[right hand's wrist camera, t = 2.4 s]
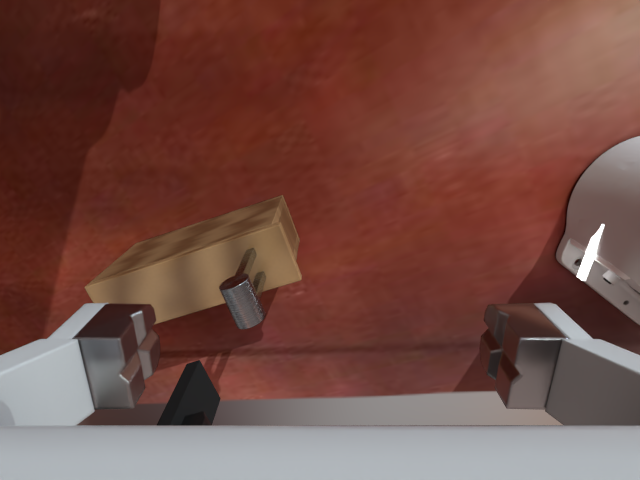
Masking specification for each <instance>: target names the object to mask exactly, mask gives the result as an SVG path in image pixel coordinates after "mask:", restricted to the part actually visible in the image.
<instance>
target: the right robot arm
mask: <svg viewBox="0 0 640 480" xmlns="http://www.w3.org/2000/svg"><path fill="white" fill-rule="evenodd" d="M556 259H557V261H558V262H559V263H560V264H561V265H563V266H564V267H565V268H566V269H568V270H569V271H570V272H571V273H573V274H574V275H575V276H577V277H578V278H579V279H580V280H582V281H583V282H584V283H585V284H587V285H588V286H589V287H591V288H592V289H593V290H594V291H596V292H597V293H598V294H599V295H601V296H602V297H603V298H605V299H606V300H607V301H608V302H610V303H611V304H612V305H613V306H615V307H616V308H617V309H619V310H620V311H621V312H622V313H624V314H625V315H626V316H627V317H629V318H630V319H631V320H633V321H634V322H635V323H637V324H638V325H640V136H638V137H634V138H631V139H628V140H626V141H624V142H622V143H619V144H617V145H616V146H614V147H612V148H611V149H609V150H608V151H606V152H605V153H603V154H602V155H601V156H600V157H598V158H597V159H596V160H595V161H594V162H593V163H592V164H591V165H590V166H589V167H588V168H587V170H586V171H585V172H584V173H583V175H582V176H581V178H580V179H579V181H578V182H577V184H576V186H575V188H574V190H573V192H572V195H571V197H570V201H569V204H568V209H567V221H566V231H565V234H564V236H563V238H562V240H561V242H560V244H559V246H558V249H557V252H556ZM577 259H579V261H578V262H577V263H575V261H576V260H577ZM155 322H156V316H155V311H154V308H153V306H152V305H151V304H125V303H88V304H84V305H83V306H82V307H81V308H80V309H79V310H78V311H77V312H76V313H74V314H73V315H72V316H71V317H70V318H69V319H68V320H67V321H66V322H65V323H64V324H63V325H62V326H60V327H59V328H58V329H57V330H56V331H55V332H54V333H53V334H52V335H51V336H50V337H49V338H47V339H39V340H37V341H34V342H32V343H29V344H27V345H24V346H22V347H19V348H17V349H15V350H12V351H10V352H7V353H5V354H2V355H0V480H640V355H638V354H635V353H633V352H630V351H628V350H625V349H623V348H620V347H618V346H616V345H613V344H611V343H608V342H606V341H603V340H601V339H593V338H592V337H590V336H589V335H588V334H587V333H586V332H585V331H584V330H583V329H582V328H581V327H580V326H579V325H577V324H576V323H575V322H574V321H573V320H572V319H571V318H570V317H569V316H568V315H567V314H566V313H565V312H563V311H562V310H561V309H560V308H559V307H558V306H557V305H556V304H553V303H520V304H491V305H488V306H487V308H486V310H485V315H484V322H485V323H486V325H487V326H488V329H487V330H486V331H485V332H484V334H483V335H482V336H481V340H480V358H481V362H482V365H483V368H484V370H485V372H486V374H487V375H488V376H490V377H492V378H493V379H495V380H496V383H495V389H496V391H497V393H498V394H499V396H500V398H501V400H502V401H503V403H504V405H505V406H506V408H509V409H545V411H546V412H547V413H548V414H550V415H551V416H552V417H554V418H555V419H556V420H558V421H559V422H560V423H562V424H563V425H473V426H472V425H469V426H468V425H464V426H463V425H452V426H451V425H450V426H449V425H433V426H432V425H430V426H429V425H425V426H424V425H421V426H420V425H419V426H417V425H410V426H409V425H408V426H407V425H405V426H403V425H399V426H395V425H388V426H387V425H385V426H384V425H382V426H76V425H77V424H79V423H80V422H81V421H83V420H84V419H85V418H86V417H88V416H89V415H91V414H92V413H93V412H94V411H95V409H130V408H134V406H135V405H136V403H137V401H138V400H139V398H140V396H141V394H142V393H143V391H144V389H145V383H144V380H145V379H147V378H148V377H150V376H152V375H153V373H154V372H155V370H156V368H157V366H158V362H159V357H160V340H159V336H158V335H157V334H156V333H155V331H154V330H153V329H152V326H153V325H154V323H155Z"/></svg>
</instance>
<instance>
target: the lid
mask: <svg viewBox="0 0 640 480" xmlns="http://www.w3.org/2000/svg"><path fill="white" fill-rule="evenodd" d="M301 277H302V275H301V273H300V270H299V268H298V265H297V262H296V260H295V257H294V255H293V252H292V250H291V247H290V244H289V242H288V239H287V237H286V234H285V232H284V229H283V226H282V224H281V222H278V223H275V224H272V225H269V226H265V227H262V228H259V229H256V230H253V231H250V232H247V233H244V234H241V235H237V236H234V237H231V238H228V239H225V240H222V241H219V242H216V243H213V244H210V245H206V246H203V247H200V248H197V249H194V250H191V251H188V252H185V253H182V254H178V255H175V256H172V257H169V258H166V259H163V260H160V261H157V262H154V263H151V264H147V265H144V266H141V267H138V268H135V269H132V270H129V271H126V272H123V273H119V274H116V275H113V276H110V277H107V278H104V279H101V280H98V281H95V282H91V283H89V284H88V285H87V286H85V290H86V291H87V293H88V295H89V296H90V298H91V300H92V301H93V303H125V304H151V305H152V306H153V308H154V311H155V316H156V322H155V323H154V324H157V323H161V322H164V321H167V320H171V319H174V318H177V317H181V316H184V315H187V314H191V313H194V312H197V311H201V310H204V309H207V308H211V307H214V306H217V305H220V304H224V303H226V304H227V307H228V309H229V311H230V313H231V315H232V317H233V319H234V321H235V324H236V326H237V327H238V328H239V329H247V328H251V327H253V326H255V325H257V324H259V323H260V322H261V321H262V320H263V319H264V318H265V315H266V314H265V311H264V309H263V306H262V304H261V302H260V298H261V294H262V292H264V291H267V290H270V289H273V288H277V287H280V286H283V285H287V284H290V283H293V282H297V281H300V280H301Z"/></svg>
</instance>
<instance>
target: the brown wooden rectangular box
mask: <svg viewBox="0 0 640 480" xmlns="http://www.w3.org/2000/svg"><path fill="white" fill-rule="evenodd" d="M278 222H281V224H282V226H283V229H284V232H285V234H286V237H287V239H288V242H289V244H290V247H291V250H292V252H293V255H294V257H295V260H296V258H297V252H298V246H299V240H300V239H299V236H298V234H297V231H296V229H295V226H294V223H293V221H292V218H291V215H290V213H289V210H288V207H287V205H286V202H285V199H284V197H283V195H281V196H278V197H275V198H272V199H269V200H266V201H263V202H260V203H257V204H254V205H251V206H248V207H245V208H242V209H239V210H236V211H233V212H230V213H227V214H223V215H220V216H217V217H214V218H211V219H208V220H205V221H202V222H199V223H196V224H193V225H190V226H187V227H184V228H181V229H178V230H175V231H172V232H169V233H166V234H163V235H160V236H157V237H154V238H151V239H148V240H145V241H142V242H139V243H136V244H135V245H133V246H132V247H131V248H130V249H129V250H128V251H126V252H125V253H124V254H123V255H122V256H120V257H119V258H118V259H117V260H116V261H115V262H113V263H112V264H111V265H110V266H109V267H108V268H106V269H105V270H104V271H103V272H102V273H100V274H99V275H98V276H97V277H96V278H95V279H93V280H92V281H91V282H95V281H98V280H101V279H104V278H107V277H110V276H113V275H116V274H119V273H123V272H126V271H129V270H132V269H135V268H138V267H141V266H144V265H147V264H151V263H154V262H157V261H160V260H163V259H166V258H169V257H172V256H175V255H178V254H182V253H185V252H188V251H191V250H194V249H197V248H200V247H203V246H206V245H210V244H213V243H216V242H219V241H222V240H225V239H228V238H231V237H234V236H237V235H241V234H244V233H247V232H250V231H253V230H256V229H259V228H262V227H265V226H269V225H272V224H275V223H278ZM91 282H90V283H91Z"/></svg>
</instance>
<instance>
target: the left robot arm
mask: <svg viewBox="0 0 640 480" xmlns="http://www.w3.org/2000/svg"><path fill="white" fill-rule="evenodd" d="M219 401H220V397H219V395H218V393H217V391H216V390H215V388H214V386H213V384H212V382H211V380H210V378H209V377H208V375H207V373H206V371H205V369H204V367H203V366H202V364H201V362H200V360H198V361H195V362H192V363H189V364H187V365H186V367H185V369H184V371H183V373H182V375H181V377H180V379H179V381H178V383H177V385H176V387H175V389H174V391H173V393H172V395H171V397H170V399H169V401H168V403H167V405H166V407H165V410H164V411H163V413H162V416H161V418H160V420H159V422H158V424H157V426H212V423H213V420H214V417H215V414H216V410H217V407H218V404H219Z"/></svg>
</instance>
